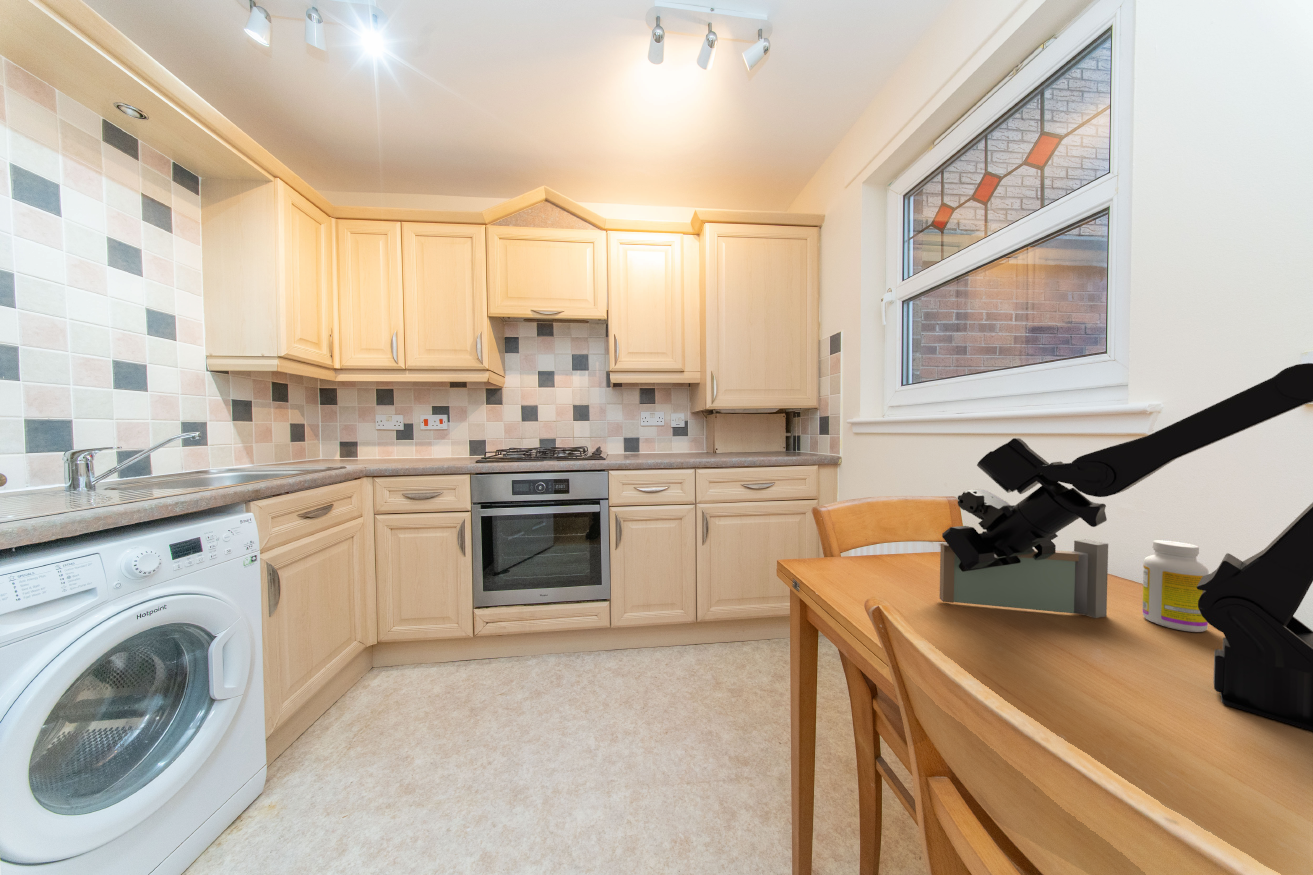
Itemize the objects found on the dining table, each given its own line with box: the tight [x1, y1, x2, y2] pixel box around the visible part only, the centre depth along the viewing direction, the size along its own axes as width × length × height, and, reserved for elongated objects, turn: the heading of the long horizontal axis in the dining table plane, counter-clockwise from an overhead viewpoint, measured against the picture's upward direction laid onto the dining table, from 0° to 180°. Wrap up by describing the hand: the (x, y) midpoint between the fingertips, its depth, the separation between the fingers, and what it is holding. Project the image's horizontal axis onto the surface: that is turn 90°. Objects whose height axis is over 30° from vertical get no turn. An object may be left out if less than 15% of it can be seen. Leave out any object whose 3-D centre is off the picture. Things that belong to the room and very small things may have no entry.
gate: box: [939, 542, 1088, 616], centre depth 73 cm, size 21×2×10 cm, turn 76°
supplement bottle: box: [1142, 539, 1210, 633], centre depth 68 cm, size 7×7×13 cm
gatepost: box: [1073, 538, 1109, 619], centre depth 72 cm, size 3×3×12 cm
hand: (961, 568), depth 74 cm, fingers closed
